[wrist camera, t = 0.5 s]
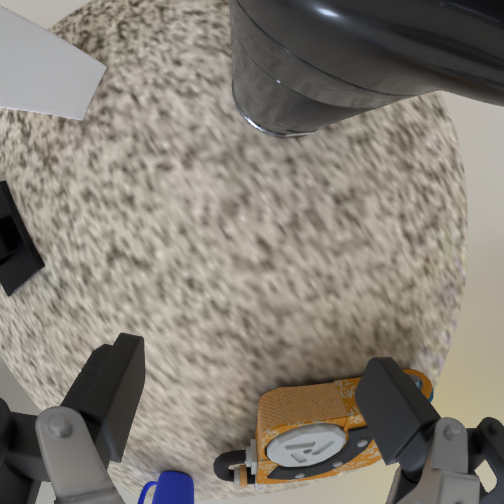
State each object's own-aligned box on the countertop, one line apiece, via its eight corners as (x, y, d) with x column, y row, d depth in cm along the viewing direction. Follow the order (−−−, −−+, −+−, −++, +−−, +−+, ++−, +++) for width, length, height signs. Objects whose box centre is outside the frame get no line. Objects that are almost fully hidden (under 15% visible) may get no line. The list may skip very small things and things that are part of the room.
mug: (133, 466, 39) (124, 504, 30) (185, 467, 38) (180, 510, 29) (154, 483, 42) (148, 518, 32) (203, 482, 41) (202, 521, 32)
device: (390, 475, 32) (215, 499, 30) (377, 443, 39) (216, 461, 38) (449, 391, 25) (198, 428, 23) (421, 355, 32) (204, 375, 31)
